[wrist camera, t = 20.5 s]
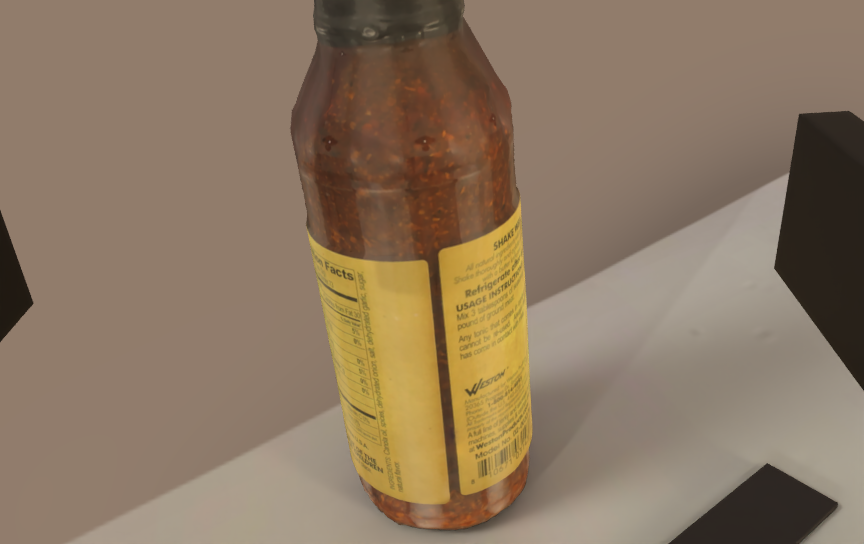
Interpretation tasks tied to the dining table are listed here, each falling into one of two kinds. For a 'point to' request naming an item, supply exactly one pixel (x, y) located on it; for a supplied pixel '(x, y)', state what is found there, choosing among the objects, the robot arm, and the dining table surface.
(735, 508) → the strip
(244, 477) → the dining table surface
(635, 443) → the dining table surface
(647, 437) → the dining table surface
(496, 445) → the sauce bottle
